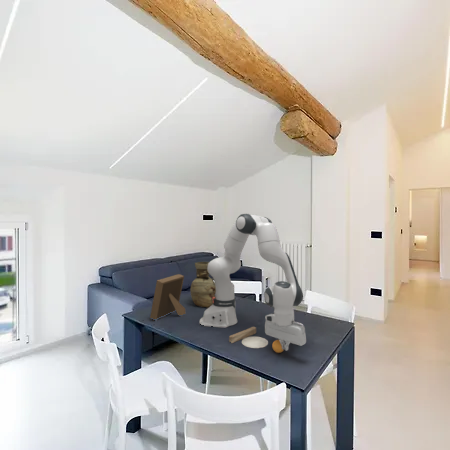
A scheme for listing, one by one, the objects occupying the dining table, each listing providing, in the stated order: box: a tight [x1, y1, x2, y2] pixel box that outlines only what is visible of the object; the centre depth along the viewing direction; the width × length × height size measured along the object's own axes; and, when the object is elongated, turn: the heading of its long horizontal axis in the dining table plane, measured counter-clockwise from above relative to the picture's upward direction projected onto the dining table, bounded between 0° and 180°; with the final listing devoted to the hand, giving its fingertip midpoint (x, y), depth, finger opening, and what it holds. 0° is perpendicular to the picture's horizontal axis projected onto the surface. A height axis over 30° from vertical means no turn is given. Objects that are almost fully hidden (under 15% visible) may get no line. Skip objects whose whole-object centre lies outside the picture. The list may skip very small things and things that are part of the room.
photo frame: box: [149, 273, 186, 319], centre depth 182 cm, size 15×22×25 cm
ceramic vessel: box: [189, 261, 216, 309], centre depth 207 cm, size 19×21×30 cm
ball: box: [271, 339, 284, 354], centre depth 132 cm, size 6×6×6 cm
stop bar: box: [228, 326, 257, 344], centre depth 149 cm, size 2×18×3 cm, turn 133°
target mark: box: [241, 336, 269, 349], centre depth 143 cm, size 13×13×1 cm
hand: (285, 349), depth 129 cm, fingers closed
